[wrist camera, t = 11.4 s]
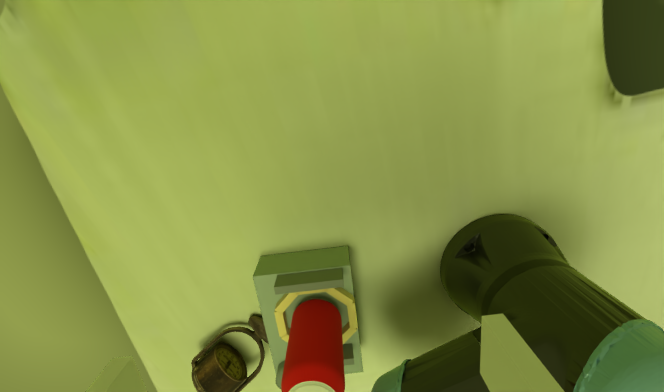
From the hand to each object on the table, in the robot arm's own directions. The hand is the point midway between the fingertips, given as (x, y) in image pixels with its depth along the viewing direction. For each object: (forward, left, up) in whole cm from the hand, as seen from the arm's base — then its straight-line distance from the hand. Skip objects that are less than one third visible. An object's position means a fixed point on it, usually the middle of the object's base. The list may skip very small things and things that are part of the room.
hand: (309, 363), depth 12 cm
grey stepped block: (+4, +19, -29) cm, 35 cm away
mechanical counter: (+16, +25, -29) cm, 42 cm away
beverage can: (+3, +17, -24) cm, 29 cm away
